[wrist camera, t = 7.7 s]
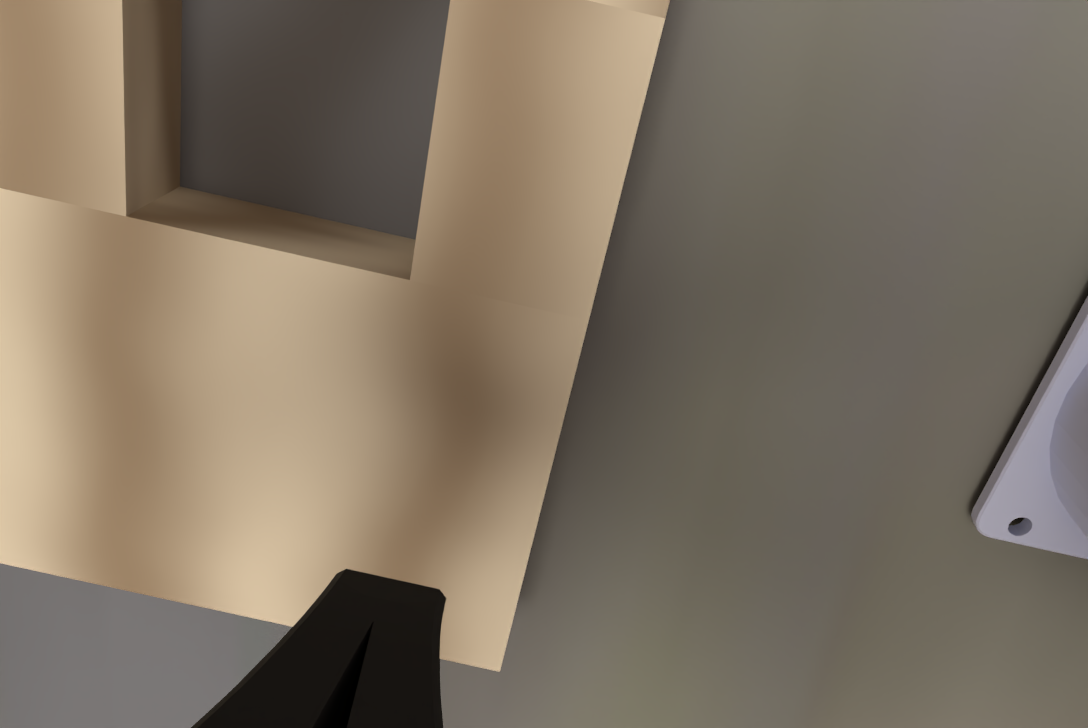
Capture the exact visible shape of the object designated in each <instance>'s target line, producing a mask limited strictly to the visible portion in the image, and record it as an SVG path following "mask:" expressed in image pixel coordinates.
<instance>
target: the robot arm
mask: <svg viewBox="0 0 1088 728" xmlns="http://www.w3.org/2000/svg"><path fill="white" fill-rule="evenodd" d="M971 517H972V521H973V523H974V525H975V527H976V528H977V530H978V531H979V532H980V533H981V534H982V535H984V536H987V537H989V538H994V539H998V540H1003V541H1007V542H1012V543H1016V544H1021V545H1025V546H1030V547H1034V548H1039V549H1043V550H1048V551H1052V552H1057V553H1061V554H1065V555H1070V556H1074V557H1079V558H1083V559H1088V296H1087V298H1086V300H1085V302H1084V304H1083V305H1082V307H1081V309H1080V311H1079V313H1078V315H1077V317H1076V318H1075V320H1074V322H1073V324H1072V326H1071V328H1070V330H1069V331H1068V333H1067V335H1066V337H1065V339H1064V341H1063V343H1062V344H1061V346H1060V348H1059V350H1058V352H1057V354H1056V356H1055V357H1054V359H1053V361H1052V363H1051V365H1050V367H1049V368H1048V370H1047V372H1046V374H1045V376H1044V378H1043V380H1042V381H1041V383H1040V385H1039V387H1038V389H1037V391H1036V393H1035V394H1034V396H1033V398H1032V400H1031V402H1030V404H1029V406H1028V407H1027V409H1026V411H1025V413H1024V415H1023V417H1022V419H1021V420H1020V422H1019V424H1018V426H1017V428H1016V430H1015V431H1014V433H1013V435H1012V437H1011V439H1010V441H1009V443H1008V444H1007V446H1006V448H1005V450H1004V452H1003V454H1002V456H1001V457H1000V459H999V461H998V463H997V465H996V467H995V469H994V470H993V472H992V474H991V476H990V478H989V480H988V482H987V483H986V485H985V487H984V489H983V491H982V493H981V494H980V496H979V498H978V500H977V502H976V504H975V506H974V507H973V510H972V514H971ZM1019 517H1020V518H1024V520H1023V521H1022V522H1021V523H1019V524H1016V525H1009V524H1010V523H1011V522H1012V521H1013V520H1014V519H1017V518H1019ZM445 602H446V597H445V596H444V594H443V593H442V592H441V590H440V589H437V588H432V587H428V586H423V585H418V584H414V583H409V582H405V581H400V580H396V579H391V578H386V577H382V576H377V575H373V574H368V573H364V572H359V571H354V570H350V569H345V570H343V571H341V572H339V573H337V574H336V575H335V576H334V578H333V579H332V580H331V582H330V583H329V584H328V586H327V587H326V588H325V590H324V591H323V592H322V593H321V595H320V596H319V597H318V598H317V599H316V601H315V602H314V603H313V604H312V605H311V607H310V608H309V609H308V610H307V611H306V613H305V614H304V615H303V616H302V617H301V618H300V619H299V621H298V622H297V623H296V624H295V625H294V626H293V627H292V628H291V629H290V630H289V632H288V633H287V634H286V635H285V636H284V637H283V638H282V639H281V640H280V642H279V643H278V644H277V645H276V646H275V647H274V648H273V649H272V650H271V651H270V652H269V653H268V654H267V655H266V656H265V657H264V658H263V659H262V660H261V661H260V662H259V663H258V664H257V665H256V666H255V667H254V668H253V669H252V670H251V671H250V672H249V673H248V674H247V675H246V676H245V677H244V678H243V679H242V680H241V682H240V683H239V684H238V685H237V686H236V687H234V688H233V689H232V690H231V691H230V692H229V693H228V694H227V695H226V696H225V697H224V698H223V699H222V700H221V701H220V702H219V703H218V704H216V705H215V706H214V707H213V708H212V709H211V710H210V711H209V712H208V713H207V714H206V715H204V716H203V717H202V718H201V719H200V720H199V721H198V722H197V723H196V724H195V725H194V726H192V727H191V728H443V721H442V709H441V695H440V634H441V623H442V617H443V612H444V607H445Z"/></svg>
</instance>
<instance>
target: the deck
mask: <svg viewBox="0 0 1088 728" xmlns="http://www.w3.org/2000/svg"><path fill="white" fill-rule="evenodd" d="M669 2H670V0H0V563H2V564H7V565H11V566H16V567H20V568H25V569H30V570H34V571H39V572H43V573H48V574H53V575H57V576H62V577H66V578H71V579H76V580H80V581H85V582H89V583H94V584H99V585H103V586H108V587H112V588H117V589H122V590H126V591H131V592H135V593H140V594H145V595H149V596H154V597H158V598H163V599H168V600H172V601H177V602H181V603H186V604H191V605H195V606H200V607H204V608H209V609H214V610H218V611H223V612H227V613H232V614H237V615H241V616H246V617H250V618H255V619H260V620H264V621H269V622H273V623H278V624H283V625H287V626H292V627H293V626H294V625H295V624H296V623H297V622H298V621H299V619H300V618H301V617H302V616H303V615H304V614H305V613H306V611H307V610H308V609H309V608H310V607H311V605H312V604H313V603H314V602H315V601H316V599H317V598H318V597H319V596H320V595H321V593H322V592H323V591H324V590H325V588H326V587H327V586H328V584H329V583H330V582H331V580H332V579H333V578H334V576H335V575H336V574H337V573H339V572H341V571H343V570H345V569H350V570H354V571H359V572H364V573H368V574H373V575H377V576H382V577H386V578H391V579H396V580H400V581H405V582H409V583H414V584H418V585H423V586H428V587H432V588H437V589H440V590H441V592H442V593H443V594H444V596H445V597H446V602H445V607H444V612H443V617H442V623H441V634H440V659H444V660H448V661H453V662H457V663H462V664H467V665H471V666H476V667H480V668H485V669H490V670H494V671H499V672H500V669H501V665H502V661H503V657H504V653H505V649H506V645H507V641H508V637H509V633H510V630H511V626H512V622H513V618H514V614H515V610H516V606H517V602H518V598H519V594H520V590H521V586H522V582H523V578H524V574H525V570H526V566H527V562H528V558H529V555H530V551H531V547H532V543H533V539H534V535H535V531H536V527H537V523H538V519H539V515H540V511H541V507H542V503H543V499H544V495H545V491H546V487H547V483H548V480H549V476H550V472H551V468H552V464H553V460H554V456H555V452H556V448H557V444H558V440H559V436H560V432H561V428H562V424H563V420H564V416H565V412H566V408H567V405H568V401H569V397H570V393H571V389H572V385H573V381H574V377H575V373H576V369H577V365H578V361H579V357H580V353H581V349H582V345H583V341H584V337H585V333H586V330H587V326H588V322H589V318H590V314H591V310H592V306H593V302H594V298H595V294H596V290H597V286H598V282H599V278H600V274H601V270H602V266H603V262H604V258H605V255H606V251H607V247H608V243H609V239H610V235H611V231H612V227H613V223H614V219H615V215H616V211H617V207H618V203H619V199H620V195H621V191H622V187H623V183H624V180H625V176H626V172H627V168H628V164H629V160H630V156H631V152H632V148H633V144H634V140H635V136H636V132H637V128H638V124H639V120H640V116H641V112H642V108H643V105H644V101H645V97H646V93H647V89H648V85H649V81H650V77H651V73H652V69H653V65H654V61H655V57H656V53H657V49H658V45H659V41H660V37H661V33H662V29H663V26H664V22H665V18H666V14H667V10H668V6H669Z"/></svg>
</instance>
